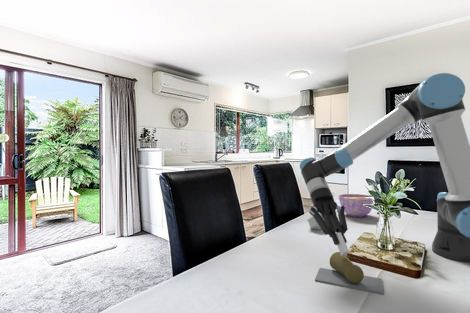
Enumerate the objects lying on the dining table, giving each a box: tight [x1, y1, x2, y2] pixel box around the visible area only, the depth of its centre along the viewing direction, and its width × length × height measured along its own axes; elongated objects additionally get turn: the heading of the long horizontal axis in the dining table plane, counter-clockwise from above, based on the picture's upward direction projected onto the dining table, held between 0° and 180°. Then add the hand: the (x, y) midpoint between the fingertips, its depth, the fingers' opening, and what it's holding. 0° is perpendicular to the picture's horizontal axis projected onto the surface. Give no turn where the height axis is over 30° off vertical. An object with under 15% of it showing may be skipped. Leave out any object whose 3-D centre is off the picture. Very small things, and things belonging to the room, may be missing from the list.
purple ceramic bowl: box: [338, 193, 374, 218], centre depth 158 cm, size 20×20×12 cm
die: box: [307, 213, 324, 231], centre depth 132 cm, size 8×9×10 cm
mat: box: [314, 267, 384, 296], centre depth 78 cm, size 18×9×1 cm, turn 63°
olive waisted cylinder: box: [329, 251, 365, 284], centre depth 80 cm, size 6×6×11 cm
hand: (345, 253), depth 81 cm, fingers closed
